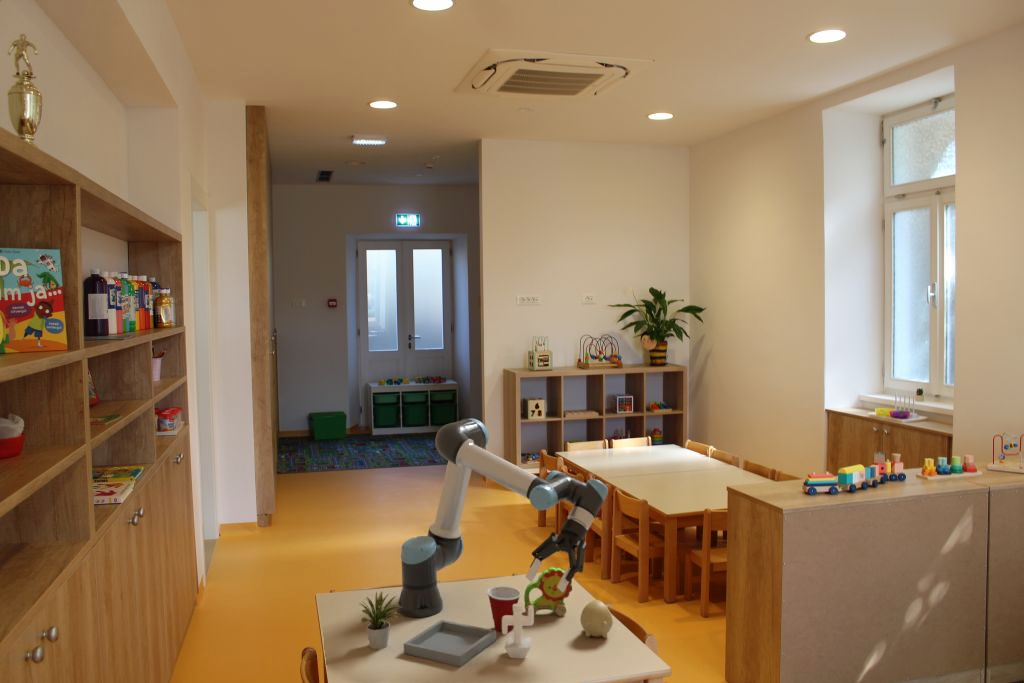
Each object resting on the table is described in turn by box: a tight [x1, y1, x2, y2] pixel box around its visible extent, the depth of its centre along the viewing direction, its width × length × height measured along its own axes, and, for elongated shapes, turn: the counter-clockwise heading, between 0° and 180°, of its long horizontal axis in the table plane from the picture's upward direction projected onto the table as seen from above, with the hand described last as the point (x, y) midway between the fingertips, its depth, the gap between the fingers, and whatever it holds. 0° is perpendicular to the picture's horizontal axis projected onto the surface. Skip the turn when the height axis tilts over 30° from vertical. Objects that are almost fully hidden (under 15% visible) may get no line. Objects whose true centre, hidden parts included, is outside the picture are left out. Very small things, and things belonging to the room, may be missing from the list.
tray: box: [403, 619, 497, 668], centre depth 243 cm, size 20×20×3 cm
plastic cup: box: [486, 585, 522, 633], centre depth 256 cm, size 11×11×12 cm
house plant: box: [359, 591, 399, 650], centre depth 244 cm, size 14×14×16 cm
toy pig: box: [579, 599, 614, 638], centre depth 249 cm, size 10×12×11 cm
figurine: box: [501, 603, 535, 659], centre depth 236 cm, size 7×9×15 cm
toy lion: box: [523, 566, 573, 617], centre depth 267 cm, size 16×5×15 cm, turn 92°
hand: (543, 584), depth 243 cm, fingers open, 13 cm apart
